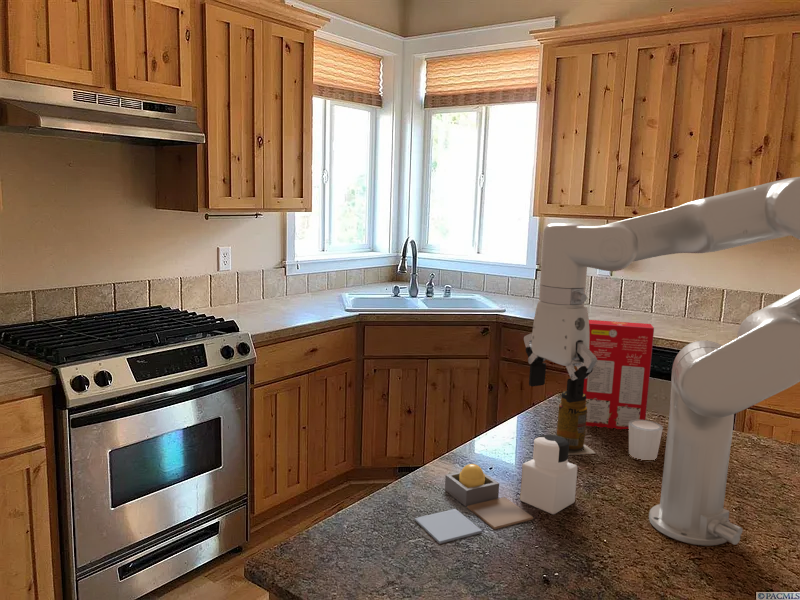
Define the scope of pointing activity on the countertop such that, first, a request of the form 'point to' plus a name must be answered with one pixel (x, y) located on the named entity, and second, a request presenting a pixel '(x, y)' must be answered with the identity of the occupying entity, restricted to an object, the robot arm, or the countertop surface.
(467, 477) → the dome
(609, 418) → the food packaging
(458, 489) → the dome housing
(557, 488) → the medicine bottle
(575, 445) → the condiment
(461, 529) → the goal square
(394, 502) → the countertop surface
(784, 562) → the countertop surface
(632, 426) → the white tapered cylinder
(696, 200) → the robot arm
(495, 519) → the step square
